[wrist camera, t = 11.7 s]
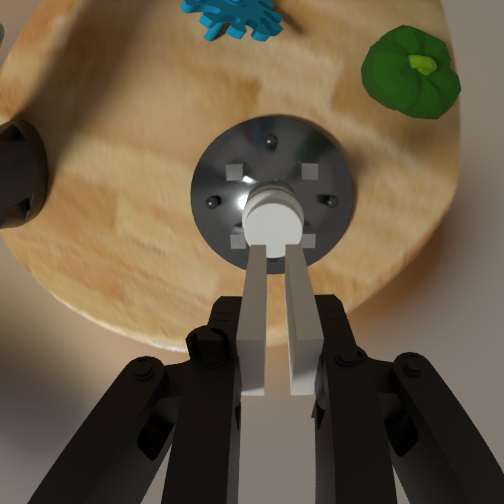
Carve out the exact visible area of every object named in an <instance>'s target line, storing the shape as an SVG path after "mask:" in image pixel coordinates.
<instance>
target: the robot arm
mask: <svg viewBox="0 0 504 504" xmlns="http://www.w3.org/2000/svg"><path fill="white" fill-rule="evenodd" d="M3 38H4V28H3V26H2V24H1V23H0V46H1V44H2V41H3ZM46 189H47V161H46V155H45V150H44V147H43V144H42V141H41V138H40V136H39V134H38V133H37V131H36V130H35V128H34V127H33V126H32V125H31V124H29V123H28V122H26V121H22V120H18V121H11V122H6V123H4V124H2V125H0V229H4V228H14V227H19V226H22V225H24V224H25V223H27V222H29V221H31V220H32V219H34V218H35V217H36V216H37V214H38V213H39V211H40V209H41V207H42V205H43V202H44V199H45V195H46ZM284 293H285V306H286V319H287V333H288V347H289V365H290V383H291V395H308V394H309V395H310V394H313V392H314V387H315V394H316V400H315V404H314V408H313V412H312V416H311V418H315V451H316V452H315V453H316V501H315V504H397V496H396V488H395V481H394V474H393V467H394V469H395V471H396V473H397V476H398V478H399V480H400V482H401V484H402V487H403V489H404V491H405V493H406V495H407V498H408V500H409V502H410V504H504V473H503V472H502V470H501V468H500V466H499V464H498V463H497V461H496V459H495V457H494V456H493V454H492V452H491V451H490V449H489V447H488V446H487V444H486V442H485V441H484V439H483V438H482V436H481V435H480V433H479V431H478V430H477V428H476V427H475V425H474V424H473V422H472V421H471V419H470V418H469V416H468V415H467V413H466V412H465V410H464V409H463V407H462V406H461V404H460V403H459V401H458V400H457V399H456V397H455V396H454V394H453V393H452V392H451V390H450V389H449V387H448V386H447V385H446V383H445V382H444V381H443V379H442V378H441V376H440V375H439V374H438V372H437V371H436V370H435V369H434V367H433V366H432V365H431V363H430V362H429V361H428V360H427V359H426V358H425V357H424V356H422V355H420V354H418V353H413V352H407V353H402V354H400V355H399V356H397V358H396V359H395V360H394V362H387V361H380V360H375V359H372V358H369V357H368V356H367V354H366V352H365V351H364V350H363V349H361V348H360V347H358V346H357V345H356V342H355V339H354V336H353V333H352V330H351V328H350V324H349V322H348V319H347V316H346V313H345V312H344V307H343V305H342V302H341V301H340V300H339V299H338V298H337V297H336V296H335V295H334V294H330V295H314V293H313V289H312V285H311V281H310V277H309V273H308V269H307V265H306V261H305V257H304V253H303V249H302V246H301V244H285V290H284ZM266 312H267V260H266V245H250V251H249V258H248V264H247V271H246V277H245V284H244V290H243V297H241V296H221V297H220V298H219V299H218V300H217V301H216V302H215V303H214V304H213V307H212V310H211V314H210V317H209V321H208V324H207V325H205V326H201V327H198V328H196V329H194V330H193V331H191V332H190V333H189V334H188V336H187V337H186V339H185V340H186V344H187V348H188V352H189V355H190V360H188V361H186V362H183V363H179V364H172V365H166V366H164V365H163V363H162V362H161V361H160V360H159V359H157V358H155V357H150V356H144V357H138V358H136V359H134V360H132V361H130V362H129V363H128V364H127V365H126V367H125V368H124V369H123V370H122V372H121V373H120V374H119V375H118V377H117V378H116V379H115V381H114V382H113V383H112V385H111V386H110V387H109V389H108V390H107V391H106V393H105V394H104V395H103V397H102V398H101V399H100V401H99V402H98V403H97V405H96V406H95V407H94V409H93V410H92V411H91V413H90V414H89V415H88V417H87V418H86V419H85V421H84V422H83V424H82V425H81V426H80V428H79V429H78V431H77V432H76V433H75V435H74V436H73V437H72V439H71V440H70V442H69V443H68V444H67V446H66V447H65V449H64V450H63V452H62V453H61V454H60V456H59V457H58V459H57V460H56V461H55V463H54V464H53V466H52V467H51V469H50V470H49V472H48V473H47V475H46V476H45V477H44V479H43V480H42V482H41V484H40V485H39V486H38V488H37V490H36V491H35V493H34V494H33V495H32V497H31V499H30V500H29V502H28V503H27V504H140V503H141V501H142V500H143V498H144V496H145V494H146V492H147V490H148V488H149V486H150V484H151V483H152V481H153V479H154V477H155V475H156V473H157V471H158V469H159V467H160V465H161V463H162V461H163V459H164V458H165V456H166V454H167V452H168V450H169V448H170V446H171V444H172V447H171V452H170V457H169V462H168V467H167V473H166V478H165V483H164V489H163V495H162V501H161V504H238V483H239V456H240V430H241V401H240V398H241V391H242V395H258V396H259V395H260V396H262V395H264V384H265V351H266ZM392 465H393V467H392Z"/></svg>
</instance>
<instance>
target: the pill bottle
mask: <svg viewBox="0 0 504 504" xmlns="http://www.w3.org/2000/svg"><path fill="white" fill-rule="evenodd" d="M303 225H304V213H303V210H302V207H301V205H300V203H299V201H298V198H297V196H296V194H295V192H294V190H293V188H292V187H291V186H290V185H289V184H288V183H287V182H285V181H283V180H281V179H278V178H266V179H263V180H261V181H259V182H257V183H256V184H255V185H254V186H253V187H252V188H251V190H250V192H249V194H248V197H247V200H246V203H245V206H244V210H243V213H242V226H243V229H244V234H245V238H246V241H247V243H248V245H249V246H250V245H266V257H268V258H278V257H283V256H285V244H299V243H300V241H301V238H302V234H303Z"/></svg>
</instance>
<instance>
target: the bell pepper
mask: <svg viewBox="0 0 504 504" xmlns="http://www.w3.org/2000/svg"><path fill="white" fill-rule="evenodd" d="M450 61H451V59H450V56H449V53H448V50H447V48H446V45H445V43H444V42H443V41H441V40H439V39H437V38H435V37H433V36H431V35H429V34H427V33H425V32H423V31H421V30H418V29H416V28H414V27H411V26H405V25H402V26H399V27H397V28H395V29H393V30H391V31H389V32H387V33H386V34H385V35H384V36H382V37H381V38H380V40H379V41H377V42H376V43H375V44H374V45H372V46H371V47H370V49H369V52H368V54H367V56H366V58H365V60H364V62H363V65H362V68H361V73H362V83H363V86H364V87H365V89H366V91H367V92H368V94H369V96H370V97H372V98H373V99H375V100H376V101H378V102H379V103H380V104H382V105H384V106H385V107H387V108H389V109H392V110H398V111H400V112H401V113H403V114H406V115H408V116H410V117H412V118H424V119H438V118H439V117H440V116H442V115H443V114H444V113H445V112H446V111H448V109H449V108H450V107H451V106H452V105H453V103H454V101H455V100H456V98H457V96H458V95H459V93H460V91H461V86H460V82H459V77H458V75H457V74H456V73H455V72H454V71H452V70H451V69H450Z"/></svg>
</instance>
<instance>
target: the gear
mask: <svg viewBox="0 0 504 504" xmlns="http://www.w3.org/2000/svg"><path fill="white" fill-rule="evenodd" d="M273 8H274V4H273V3H272V2H271V1H270V0H183V2H182V4H181V10H182V11H183V12H184V13H193V12H204V13H203V14H202V15H201V17H200V19H199V22H200V23H201V24H202V25H204V26H205V27H207V28H209V29H208V31H207V32H206V34H205V36H204V38H205V39H206V40H208V41H213V40H214V39H215V37H216V36H217V34H218V33H219V31H220V30H221V28H222V27H223V25H224V24H225V23H226V22H231V23H232V24H231V25H230V26H229V28H228V29H227V31H226V34H228V35H230V36H232V37H234V38H237V39H241V38H242V36H243V35H244V34H245V33H246V31H247V30H246V28H245V25H247V26H250V27H251V28H252V29H253V30H254V31H253V32H252V34H251V36H252V38H253V39H254V40H258V41H266V40H267V39H268V38H269V37H270V35H271V36H276V35H278V34H279V33H280V32H281V31H282V30H283V28H282V27H281V26H280V25H279V23H280V22H281V21H282V20H283V16H282V15H281V14H279V13H276V12H273V11H271V10H272V9H273Z"/></svg>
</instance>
